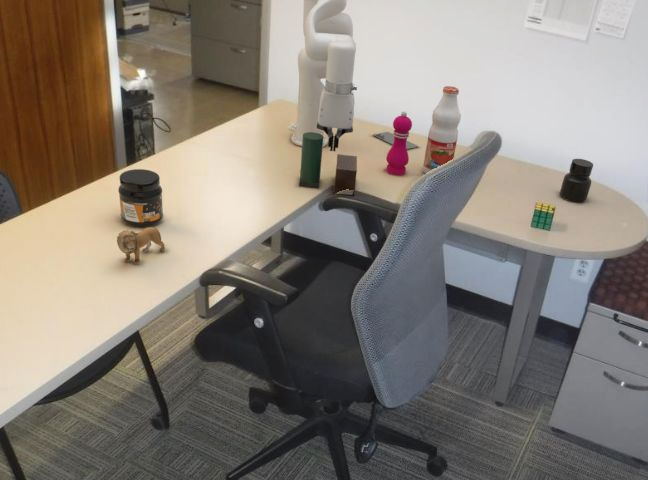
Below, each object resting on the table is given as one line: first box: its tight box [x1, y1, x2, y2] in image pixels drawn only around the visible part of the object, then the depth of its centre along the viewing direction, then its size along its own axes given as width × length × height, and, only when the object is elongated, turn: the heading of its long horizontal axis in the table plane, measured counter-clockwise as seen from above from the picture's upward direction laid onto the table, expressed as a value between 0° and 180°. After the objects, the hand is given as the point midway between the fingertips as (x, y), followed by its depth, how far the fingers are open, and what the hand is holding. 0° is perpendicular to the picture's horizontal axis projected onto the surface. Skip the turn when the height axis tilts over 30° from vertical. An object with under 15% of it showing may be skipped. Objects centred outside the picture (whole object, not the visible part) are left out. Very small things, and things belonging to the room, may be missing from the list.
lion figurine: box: [116, 226, 166, 265], centre depth 167 cm, size 15×5×9 cm, turn 159°
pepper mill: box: [385, 110, 413, 176], centre depth 229 cm, size 7×7×20 cm
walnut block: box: [333, 153, 358, 195], centre depth 217 cm, size 6×12×8 cm, turn 1°
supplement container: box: [117, 168, 164, 228], centre depth 182 cm, size 10×10×12 cm
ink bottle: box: [559, 158, 594, 203], centre depth 232 cm, size 10×9×12 cm
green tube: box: [298, 132, 324, 189], centre depth 214 cm, size 13×6×16 cm, turn 91°
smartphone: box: [372, 131, 419, 150], centre depth 259 cm, size 8×1×16 cm
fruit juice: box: [422, 85, 462, 175], centre depth 231 cm, size 9×9×28 cm
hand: (332, 149), depth 213 cm, fingers closed
